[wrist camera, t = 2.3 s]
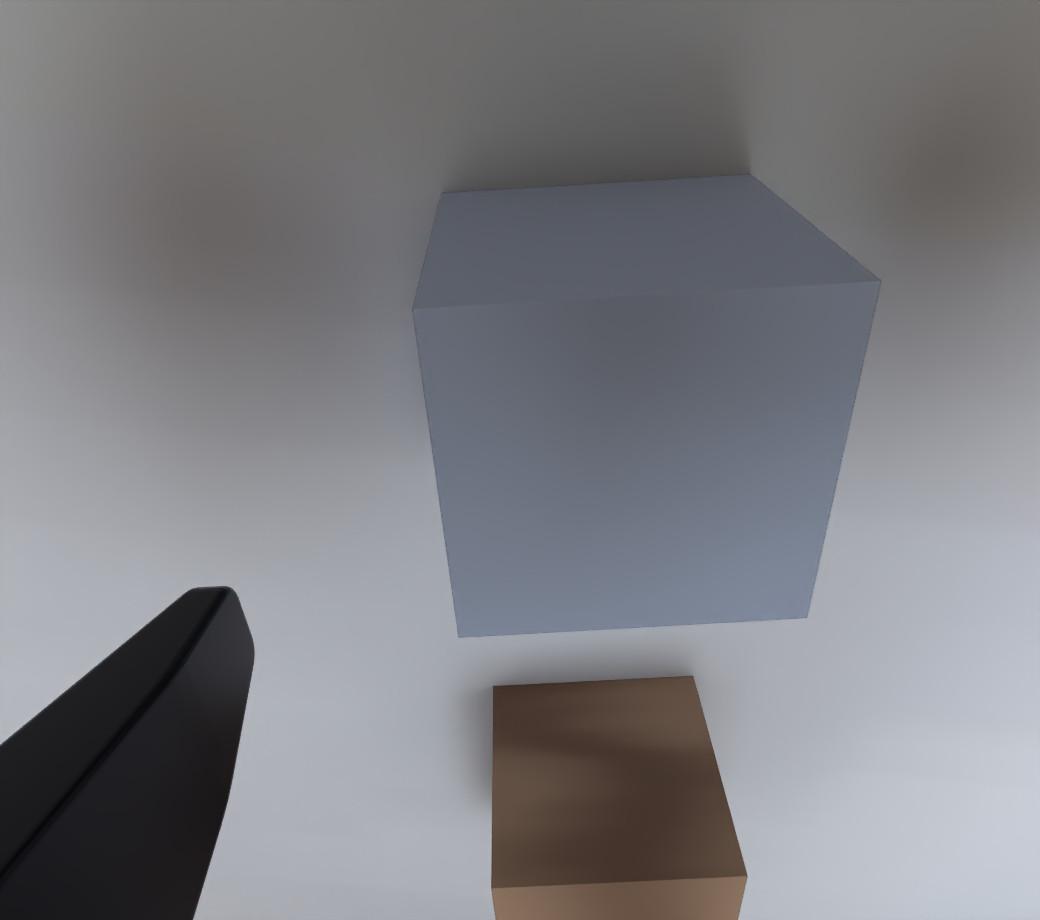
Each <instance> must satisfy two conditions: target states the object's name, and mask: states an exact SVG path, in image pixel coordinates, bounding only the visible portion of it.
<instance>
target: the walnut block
mask: <svg viewBox="0 0 1040 920" xmlns="http://www.w3.org/2000/svg"><path fill="white" fill-rule="evenodd" d="M746 881H747V872H746V869H745V865H744V861H743V858H742V854H741V850H740V847H739V843H738V839H737V835H736V832H735V828H734V824H733V821H732V817H731V813H730V810H729V806H728V802H727V799H726V795H725V791H724V788H723V784H722V780H721V776H720V773H719V769H718V765H717V762H716V758H715V754H714V751H713V747H712V743H711V740H710V736H709V732H708V729H707V725H706V721H705V717H704V714H703V710H702V706H701V703H700V699H699V695H698V692H697V688H696V684H695V681H694V677H693V676H683V677H663V678H644V679H624V680H604V681H585V682H565V683H546V684H526V685H506V686H493V776H492V876H491V889H492V897H493V904H494V911H495V919H496V920H738V916H739V912H740V907H741V903H742V899H743V894H744V890H745V885H746Z"/></svg>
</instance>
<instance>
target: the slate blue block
mask: <svg viewBox="0 0 1040 920" xmlns="http://www.w3.org/2000/svg"><path fill="white" fill-rule="evenodd" d="M880 284H881V280H880V279H878V278H877V277H876V276H875V275H873V274H872V273H871V272H870V271H869V270H867V269H866V268H865V267H864V266H862V265H861V264H860V263H859V262H858V261H856V260H855V259H854V258H853V257H851V256H850V255H849V254H848V253H847V252H845V251H844V250H843V249H842V248H840V247H839V246H838V245H837V244H836V243H834V242H833V241H832V240H831V239H829V238H828V237H827V236H826V235H824V234H823V233H822V232H821V231H820V230H818V229H817V228H816V227H815V226H813V225H812V224H811V223H810V222H809V221H807V220H806V219H805V218H804V217H802V216H801V215H800V214H799V213H798V212H796V211H795V210H794V209H793V208H791V207H790V206H789V205H788V204H787V203H785V202H784V201H783V200H782V199H780V198H779V197H778V196H777V195H776V194H774V193H773V192H772V191H771V190H769V189H768V188H767V187H766V186H765V185H763V184H762V183H761V182H760V181H758V180H757V179H756V178H755V177H754V176H752V175H751V174H745V175H729V176H712V177H696V178H679V179H663V180H647V181H630V182H614V183H598V184H581V185H565V186H548V187H532V188H516V189H499V190H483V191H466V192H450V193H441V196H440V200H439V204H438V208H437V212H436V216H435V220H434V224H433V228H432V232H431V236H430V240H429V244H428V248H427V252H426V256H425V260H424V264H423V268H422V272H421V276H420V280H419V284H418V288H417V292H416V296H415V300H414V304H413V308H412V311H413V318H414V325H415V332H416V339H417V346H418V353H419V360H420V367H421V375H422V382H423V389H424V396H425V403H426V410H427V417H428V424H429V431H430V438H431V446H432V453H433V460H434V467H435V474H436V481H437V488H438V495H439V502H440V509H441V517H442V524H443V531H444V538H445V545H446V552H447V559H448V566H449V573H450V581H451V588H452V595H453V602H454V609H455V616H456V623H457V630H458V637H459V638H462V637H479V636H497V635H515V634H532V633H550V632H568V631H586V630H603V629H621V628H639V627H656V626H674V625H692V624H709V623H727V622H745V621H763V620H780V619H798V618H807V616H808V611H809V607H810V602H811V598H812V593H813V589H814V584H815V579H816V575H817V570H818V566H819V561H820V557H821V552H822V548H823V543H824V539H825V534H826V529H827V525H828V520H829V516H830V511H831V507H832V502H833V498H834V493H835V489H836V484H837V480H838V475H839V470H840V466H841V461H842V457H843V452H844V448H845V443H846V439H847V434H848V430H849V425H850V420H851V416H852V411H853V407H854V402H855V398H856V393H857V389H858V384H859V380H860V375H861V370H862V366H863V361H864V357H865V352H866V348H867V343H868V339H869V334H870V330H871V325H872V321H873V316H874V311H875V307H876V302H877V298H878V293H879V289H880Z"/></svg>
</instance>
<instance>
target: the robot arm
mask: <svg viewBox="0 0 1040 920" xmlns="http://www.w3.org/2000/svg"><path fill="white" fill-rule="evenodd" d="M254 655H255V653H254V642H253V639H252V635H251V633H250V630H249V627H248V624H247V621H246V618H245V615H244V612H243V610H242V607H241V604H240V601H239V598H238V596H237V594H236V592H235V591H234V590H233V589H232V588H230V587H227V586H216V587H198V588H193V589H191V590H189V591H187V592H186V593H184V594H183V595H182V596H181V597H180V598H178V599H177V600H176V601H175V602H173V603H172V604H171V605H170V606H169V607H167V608H166V609H165V610H164V611H163V612H161V613H160V614H159V615H158V616H156V617H155V618H154V619H153V620H152V621H150V622H149V623H148V624H147V625H145V626H144V627H143V628H142V629H141V630H139V631H138V632H137V633H136V634H135V635H133V636H132V637H131V638H130V639H128V640H127V641H126V642H125V643H124V644H122V645H121V646H120V647H119V648H118V649H116V650H115V651H114V652H113V653H111V654H110V655H109V656H108V657H107V658H105V659H104V660H103V661H102V662H100V663H99V664H98V665H97V666H96V667H94V668H93V669H92V670H91V671H90V672H88V673H87V674H86V675H85V676H83V677H82V678H81V679H80V680H79V681H77V682H76V683H75V684H74V685H72V686H71V687H70V688H69V689H68V690H66V691H65V692H64V693H63V694H62V695H60V696H59V697H58V698H57V699H55V700H54V701H53V702H52V703H51V704H49V705H48V706H47V707H46V708H45V709H43V710H42V711H41V712H40V713H38V714H37V715H36V716H35V717H34V718H32V719H31V720H30V721H29V722H27V723H26V724H25V725H24V726H23V727H21V728H20V729H19V730H18V731H17V732H15V733H14V734H13V735H12V736H10V737H9V738H8V739H7V740H6V741H4V742H3V743H2V744H1V745H0V920H193V918H194V915H195V912H196V908H197V905H198V902H199V898H200V895H201V892H202V888H203V885H204V882H205V878H206V875H207V871H208V868H209V865H210V861H211V858H212V855H213V851H214V848H215V845H216V841H217V838H218V835H219V831H220V828H221V825H222V821H223V818H224V814H225V810H226V806H227V803H228V799H229V794H230V789H231V785H232V780H233V775H234V769H235V764H236V758H237V753H238V747H239V742H240V736H241V731H242V725H243V720H244V714H245V709H246V704H247V698H248V693H249V687H250V682H251V676H252V671H253V665H254Z"/></svg>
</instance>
